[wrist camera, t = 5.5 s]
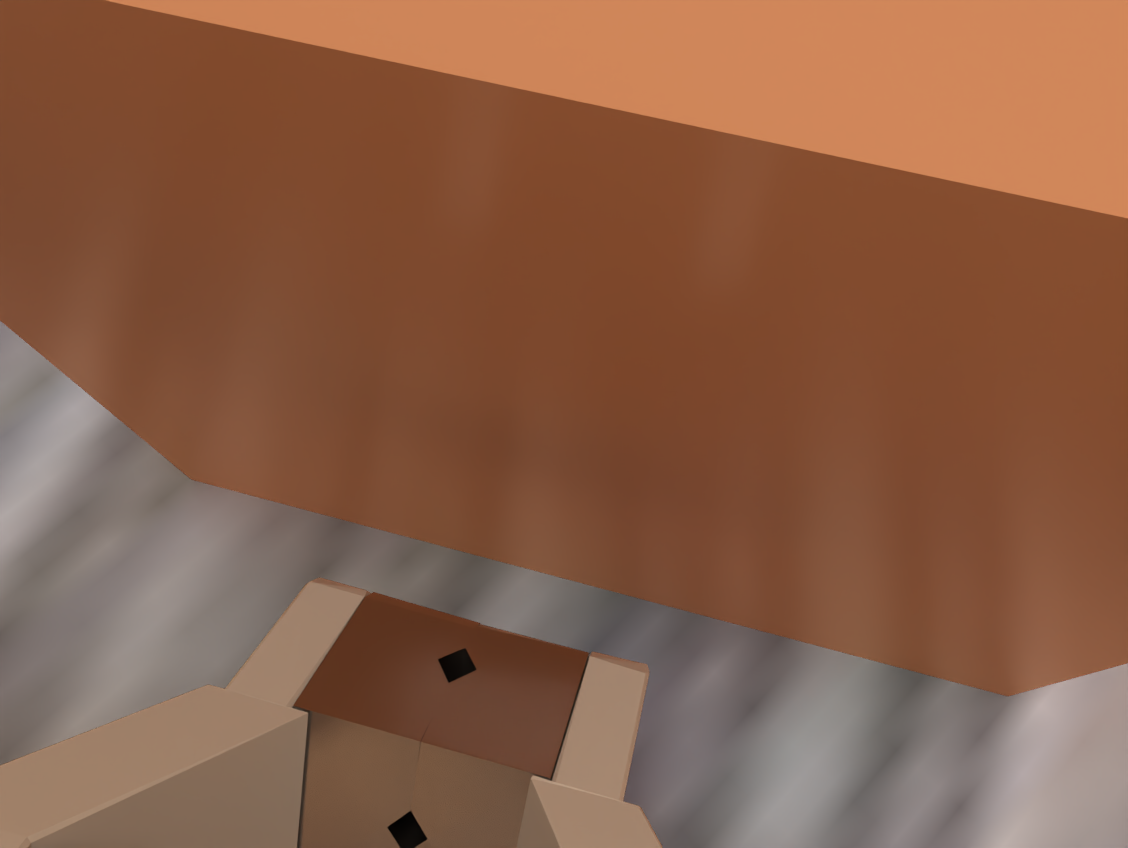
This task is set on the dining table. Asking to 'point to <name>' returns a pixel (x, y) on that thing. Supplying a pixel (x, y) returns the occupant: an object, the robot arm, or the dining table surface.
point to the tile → (618, 291)
